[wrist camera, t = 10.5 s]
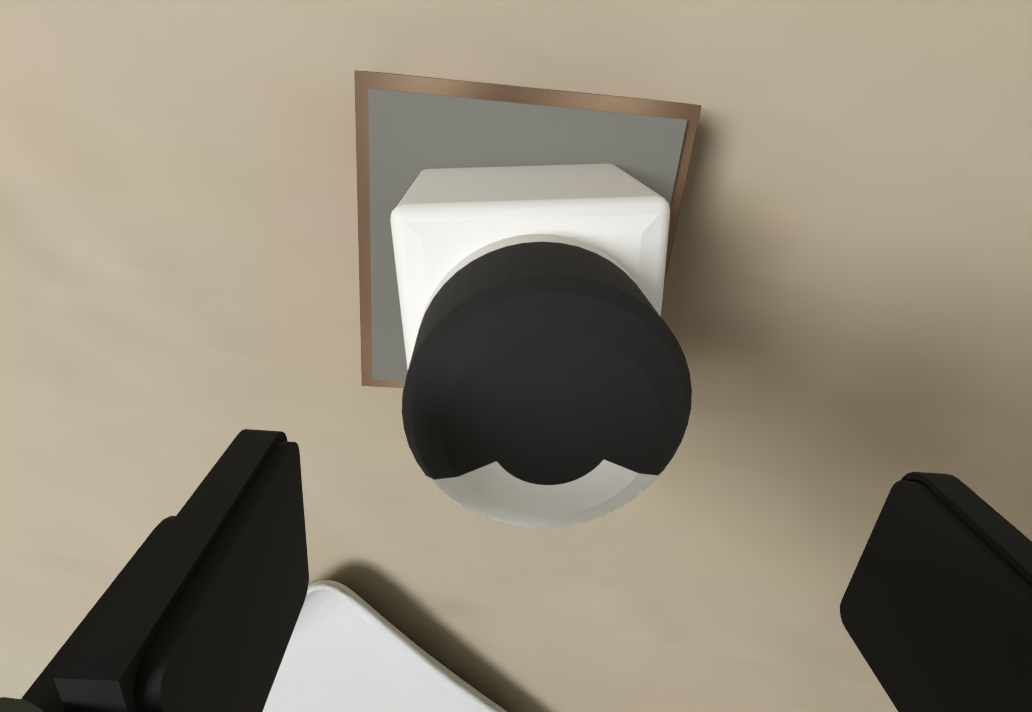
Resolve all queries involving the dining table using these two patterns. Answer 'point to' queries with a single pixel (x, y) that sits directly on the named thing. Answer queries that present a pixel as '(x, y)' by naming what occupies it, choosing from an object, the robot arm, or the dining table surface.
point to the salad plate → (361, 664)
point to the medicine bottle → (538, 339)
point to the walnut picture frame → (488, 165)
